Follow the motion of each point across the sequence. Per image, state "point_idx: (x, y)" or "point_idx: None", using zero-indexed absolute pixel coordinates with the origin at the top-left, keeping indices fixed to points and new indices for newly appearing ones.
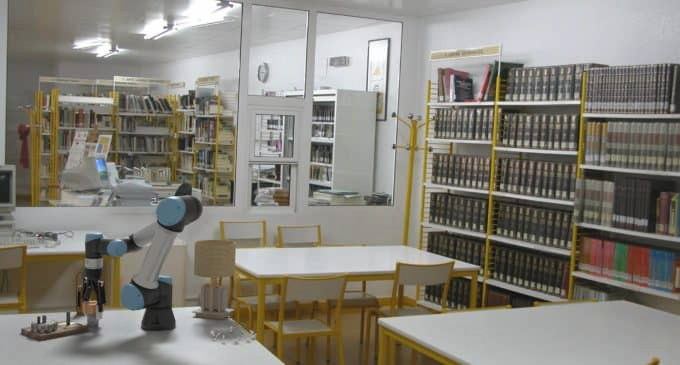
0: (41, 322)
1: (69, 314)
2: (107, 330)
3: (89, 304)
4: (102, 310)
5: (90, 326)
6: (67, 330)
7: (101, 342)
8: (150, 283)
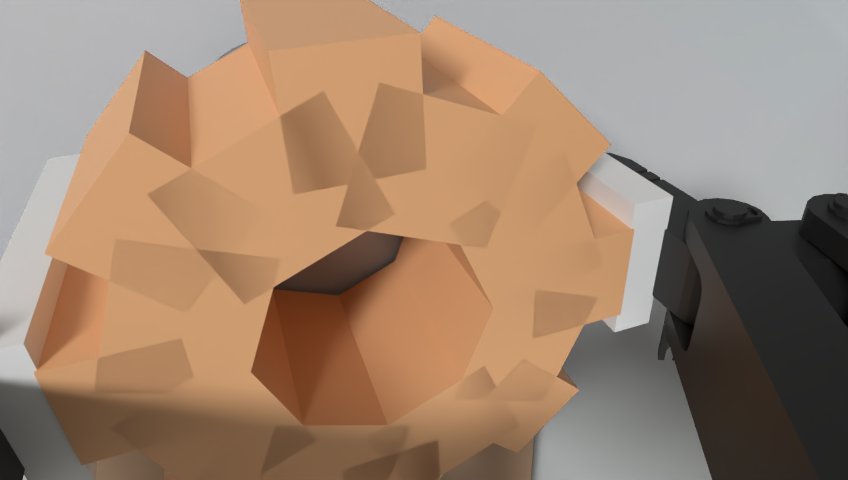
0: None
1: None
2: (632, 77)
3: (482, 435)
4: (637, 168)
5: None
6: (526, 471)
7: None
8: None
